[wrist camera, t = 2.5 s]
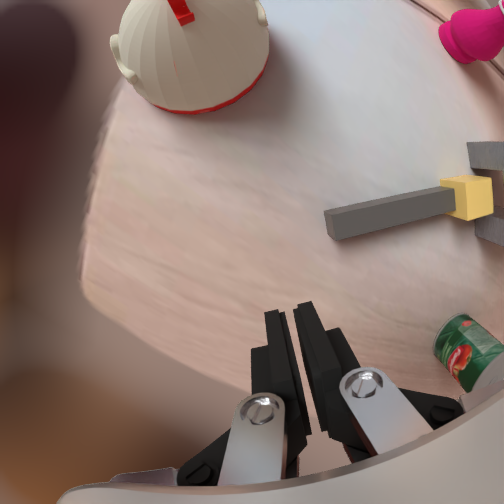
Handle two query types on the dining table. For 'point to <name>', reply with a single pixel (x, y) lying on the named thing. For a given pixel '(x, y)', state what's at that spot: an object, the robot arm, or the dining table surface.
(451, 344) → the canned tomato
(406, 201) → the yellow tipped gray bar
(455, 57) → the pepper mill
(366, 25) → the dining table surface
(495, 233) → the block
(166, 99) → the kitchen timer
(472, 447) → the robot arm
